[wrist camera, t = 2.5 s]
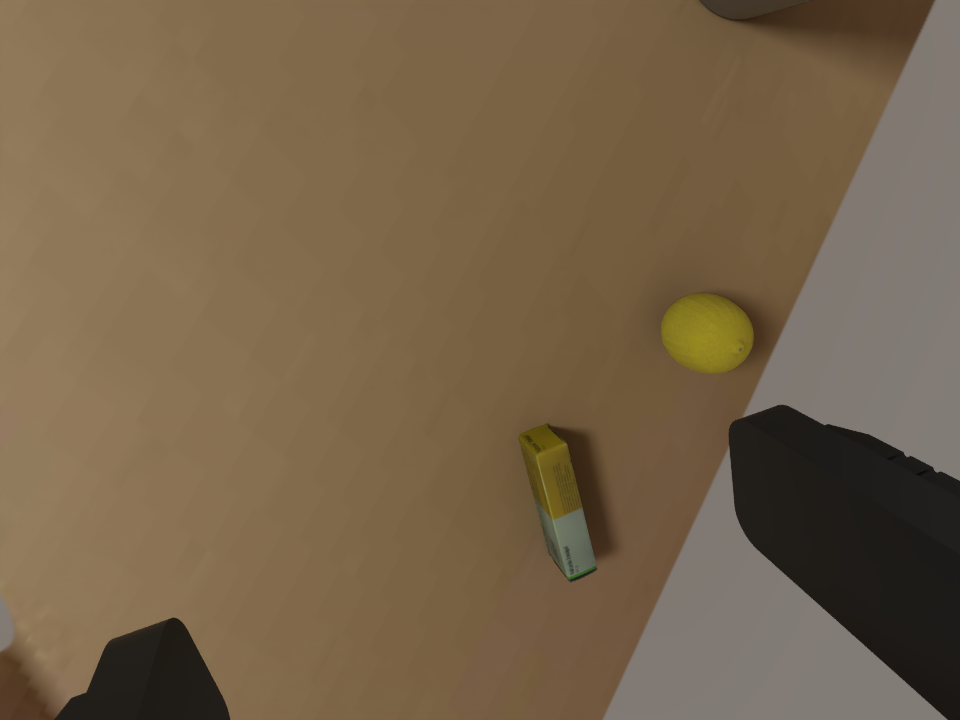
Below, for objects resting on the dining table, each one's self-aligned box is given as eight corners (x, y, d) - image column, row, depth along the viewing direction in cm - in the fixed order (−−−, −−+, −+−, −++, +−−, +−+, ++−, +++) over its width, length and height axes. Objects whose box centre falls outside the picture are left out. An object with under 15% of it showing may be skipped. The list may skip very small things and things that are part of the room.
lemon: (629, 313, 47) (689, 343, 40) (687, 269, 47) (758, 290, 40) (661, 367, 49) (724, 405, 42) (717, 324, 49) (789, 354, 42)
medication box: (578, 543, 53) (599, 572, 49) (549, 556, 52) (568, 586, 49) (547, 420, 48) (568, 442, 45) (515, 433, 48) (533, 456, 44)
